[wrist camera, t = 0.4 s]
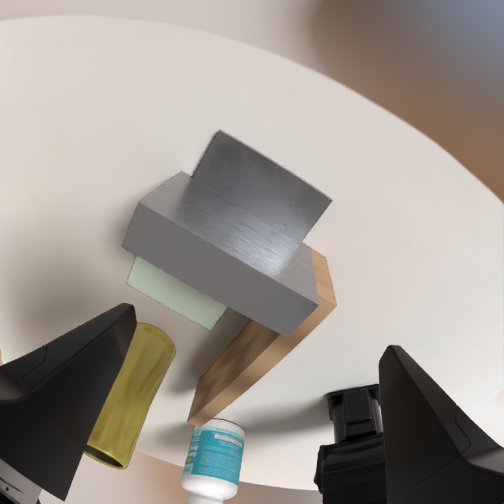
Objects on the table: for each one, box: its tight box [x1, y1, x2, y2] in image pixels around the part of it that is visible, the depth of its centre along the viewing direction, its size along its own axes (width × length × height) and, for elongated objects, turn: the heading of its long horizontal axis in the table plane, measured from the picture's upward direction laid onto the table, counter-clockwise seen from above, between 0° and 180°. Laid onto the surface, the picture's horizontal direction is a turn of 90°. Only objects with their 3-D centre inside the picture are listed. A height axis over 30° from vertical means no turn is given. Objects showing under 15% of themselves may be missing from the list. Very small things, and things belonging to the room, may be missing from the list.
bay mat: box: [127, 256, 227, 330], centre depth 24 cm, size 9×9×1 cm
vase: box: [83, 323, 175, 469], centre depth 23 cm, size 6×6×14 cm
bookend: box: [122, 130, 332, 337], centre depth 17 cm, size 7×11×7 cm, turn 59°
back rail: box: [187, 248, 337, 428], centre depth 24 cm, size 20×2×6 cm, turn 149°
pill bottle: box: [181, 419, 245, 504], centre depth 31 cm, size 8×7×14 cm
